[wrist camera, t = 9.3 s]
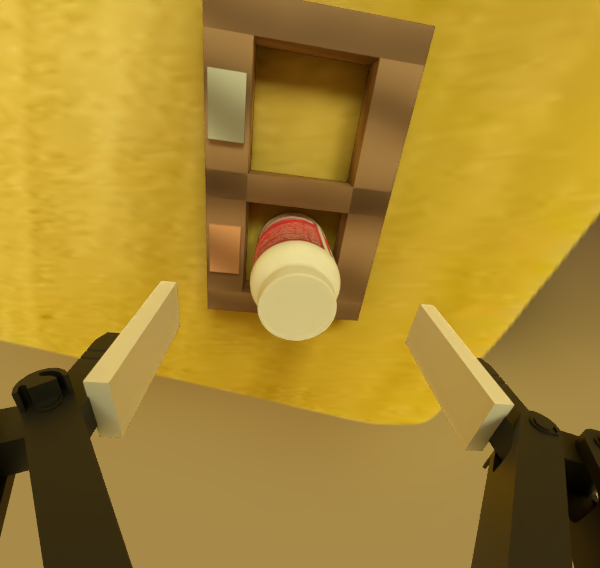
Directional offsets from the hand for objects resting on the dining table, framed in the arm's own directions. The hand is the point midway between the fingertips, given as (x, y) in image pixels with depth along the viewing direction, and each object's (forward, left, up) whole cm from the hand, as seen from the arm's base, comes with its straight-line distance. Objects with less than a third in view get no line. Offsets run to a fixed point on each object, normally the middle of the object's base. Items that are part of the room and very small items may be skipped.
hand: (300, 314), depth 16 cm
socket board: (-5, 0, -12) cm, 13 cm away
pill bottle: (0, 0, -12) cm, 12 cm away
